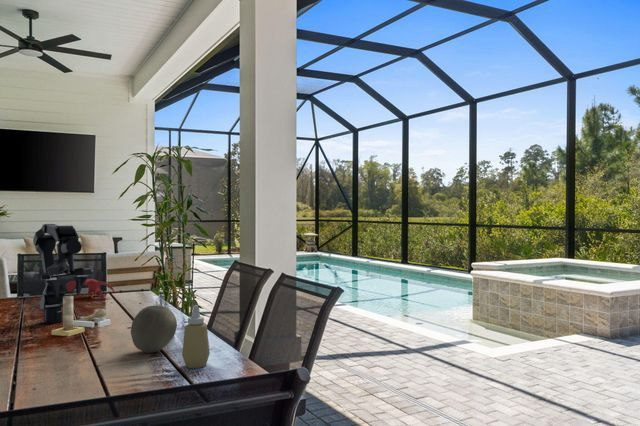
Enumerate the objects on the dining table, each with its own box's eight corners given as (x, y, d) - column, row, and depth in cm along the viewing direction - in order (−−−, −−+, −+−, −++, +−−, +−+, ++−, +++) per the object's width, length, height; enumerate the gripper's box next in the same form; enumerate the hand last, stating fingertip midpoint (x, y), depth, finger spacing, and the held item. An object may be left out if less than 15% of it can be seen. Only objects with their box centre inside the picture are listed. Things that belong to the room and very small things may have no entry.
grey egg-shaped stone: (151, 359, 159) (150, 311, 159) (121, 353, 166) (121, 307, 166) (185, 349, 171) (185, 304, 171) (156, 344, 178) (156, 301, 178)
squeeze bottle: (184, 362, 156) (184, 303, 156) (211, 361, 157) (211, 302, 157) (179, 370, 148) (179, 308, 148) (207, 369, 149) (207, 307, 149)
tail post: (60, 333, 195) (60, 297, 195) (68, 331, 198) (68, 295, 198) (68, 334, 194) (68, 297, 194) (75, 332, 197) (75, 296, 197)
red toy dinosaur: (71, 304, 286) (58, 286, 276) (78, 291, 293) (67, 273, 283) (117, 305, 282) (106, 287, 272) (124, 292, 288) (114, 274, 278)
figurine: (69, 331, 208) (107, 319, 213) (66, 320, 207) (104, 308, 213) (70, 329, 211) (108, 317, 216) (66, 318, 211) (105, 307, 216)
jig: (36, 333, 196) (36, 328, 196) (81, 321, 217) (81, 316, 218) (69, 336, 191) (69, 330, 191) (112, 323, 213) (112, 318, 213)
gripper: (30, 259, 198) (31, 299, 196) (73, 253, 195) (75, 294, 193) (49, 259, 209) (51, 297, 207) (91, 254, 206) (93, 293, 204)
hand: (67, 295), depth 203 cm, fingers open, 9 cm apart
